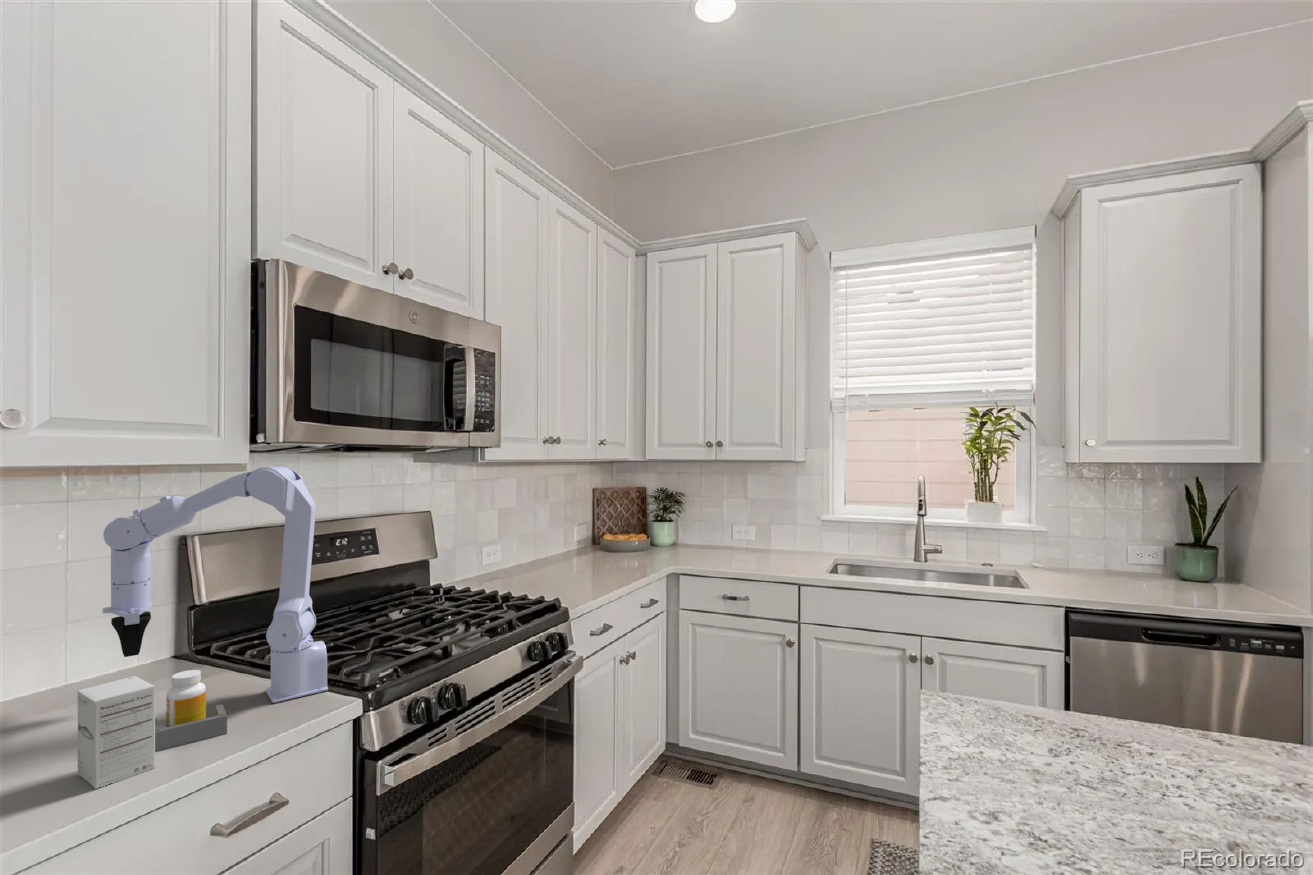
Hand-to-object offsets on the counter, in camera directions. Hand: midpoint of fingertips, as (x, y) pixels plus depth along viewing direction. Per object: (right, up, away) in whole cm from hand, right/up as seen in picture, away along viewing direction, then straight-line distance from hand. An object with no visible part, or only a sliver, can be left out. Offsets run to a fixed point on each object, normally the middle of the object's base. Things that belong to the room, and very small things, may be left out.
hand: (131, 655), depth 118 cm
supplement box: (+17, -10, -23) cm, 30 cm away
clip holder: (+19, -9, -12) cm, 24 cm away
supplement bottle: (+18, -10, -10) cm, 22 cm away
